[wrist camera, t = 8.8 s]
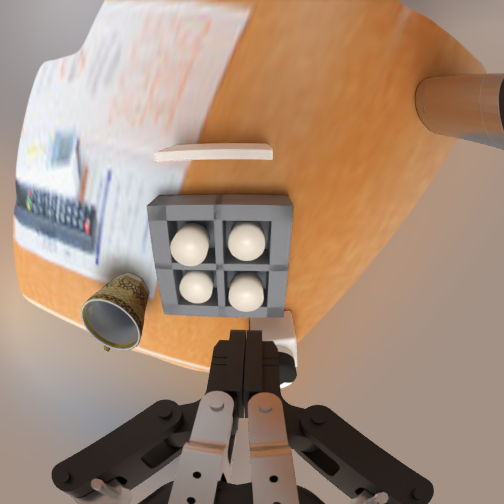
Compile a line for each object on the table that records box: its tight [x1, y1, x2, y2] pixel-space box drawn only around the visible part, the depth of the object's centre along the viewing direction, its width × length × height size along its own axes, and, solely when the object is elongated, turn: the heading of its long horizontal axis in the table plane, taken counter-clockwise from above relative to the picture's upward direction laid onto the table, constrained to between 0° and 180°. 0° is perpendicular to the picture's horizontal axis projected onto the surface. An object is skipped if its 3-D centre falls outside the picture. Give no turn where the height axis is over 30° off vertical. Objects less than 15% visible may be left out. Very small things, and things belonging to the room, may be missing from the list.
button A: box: [228, 221, 265, 261], centre depth 36 cm, size 5×5×3 cm
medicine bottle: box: [249, 310, 297, 388], centre depth 42 cm, size 7×7×12 cm
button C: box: [170, 223, 210, 266], centre depth 34 cm, size 5×5×3 cm
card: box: [155, 143, 273, 162], centre depth 30 cm, size 12×1×9 cm, turn 89°
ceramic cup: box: [81, 273, 149, 351], centre depth 40 cm, size 13×10×10 cm
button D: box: [179, 270, 214, 303], centre depth 39 cm, size 5×5×3 cm
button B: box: [229, 272, 264, 312], centre depth 37 cm, size 5×5×3 cm
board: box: [147, 194, 293, 318], centre depth 38 cm, size 18×17×5 cm
